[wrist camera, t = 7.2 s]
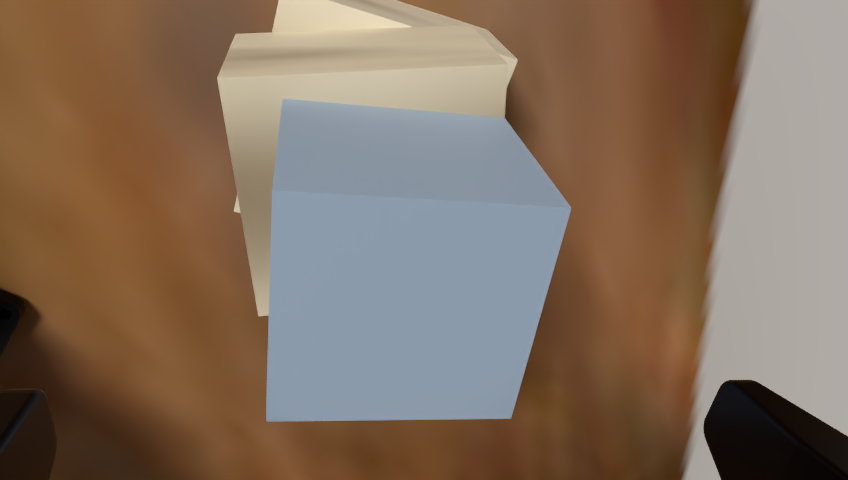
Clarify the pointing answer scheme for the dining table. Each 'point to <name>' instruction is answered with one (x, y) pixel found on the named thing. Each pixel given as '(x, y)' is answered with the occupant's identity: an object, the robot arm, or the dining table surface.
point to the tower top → (341, 97)
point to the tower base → (367, 21)
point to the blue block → (404, 264)
